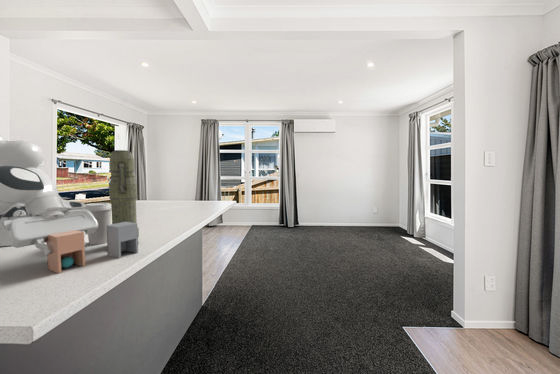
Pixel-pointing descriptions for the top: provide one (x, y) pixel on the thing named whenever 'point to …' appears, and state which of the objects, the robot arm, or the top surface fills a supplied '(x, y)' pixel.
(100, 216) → the coffee cup
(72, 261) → the teal ball
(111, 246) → the light gray boxy block
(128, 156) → the thermos
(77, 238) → the tan block
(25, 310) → the top surface
